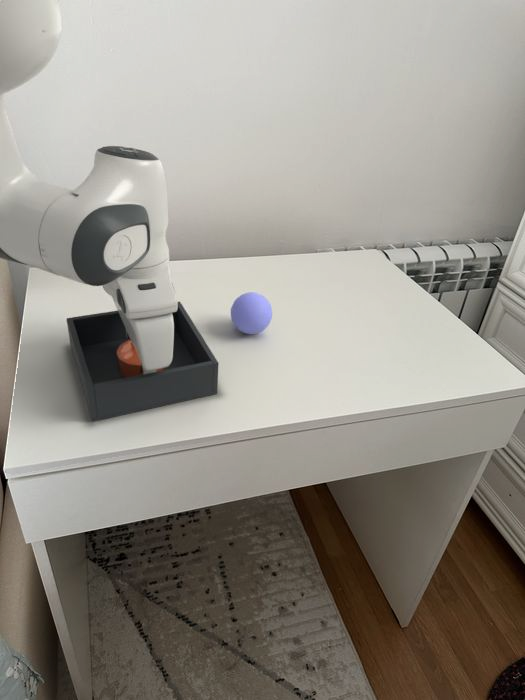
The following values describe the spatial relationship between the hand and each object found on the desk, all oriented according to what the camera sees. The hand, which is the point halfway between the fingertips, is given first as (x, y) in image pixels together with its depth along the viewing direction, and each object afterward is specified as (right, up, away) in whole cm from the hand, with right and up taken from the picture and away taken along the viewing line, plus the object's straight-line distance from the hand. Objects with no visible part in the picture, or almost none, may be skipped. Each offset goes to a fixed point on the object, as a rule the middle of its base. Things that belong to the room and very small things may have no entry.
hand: (140, 357), depth 79 cm
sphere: (+16, +4, +13) cm, 21 cm away
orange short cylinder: (0, -1, +1) cm, 2 cm away
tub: (0, -2, +1) cm, 2 cm away
